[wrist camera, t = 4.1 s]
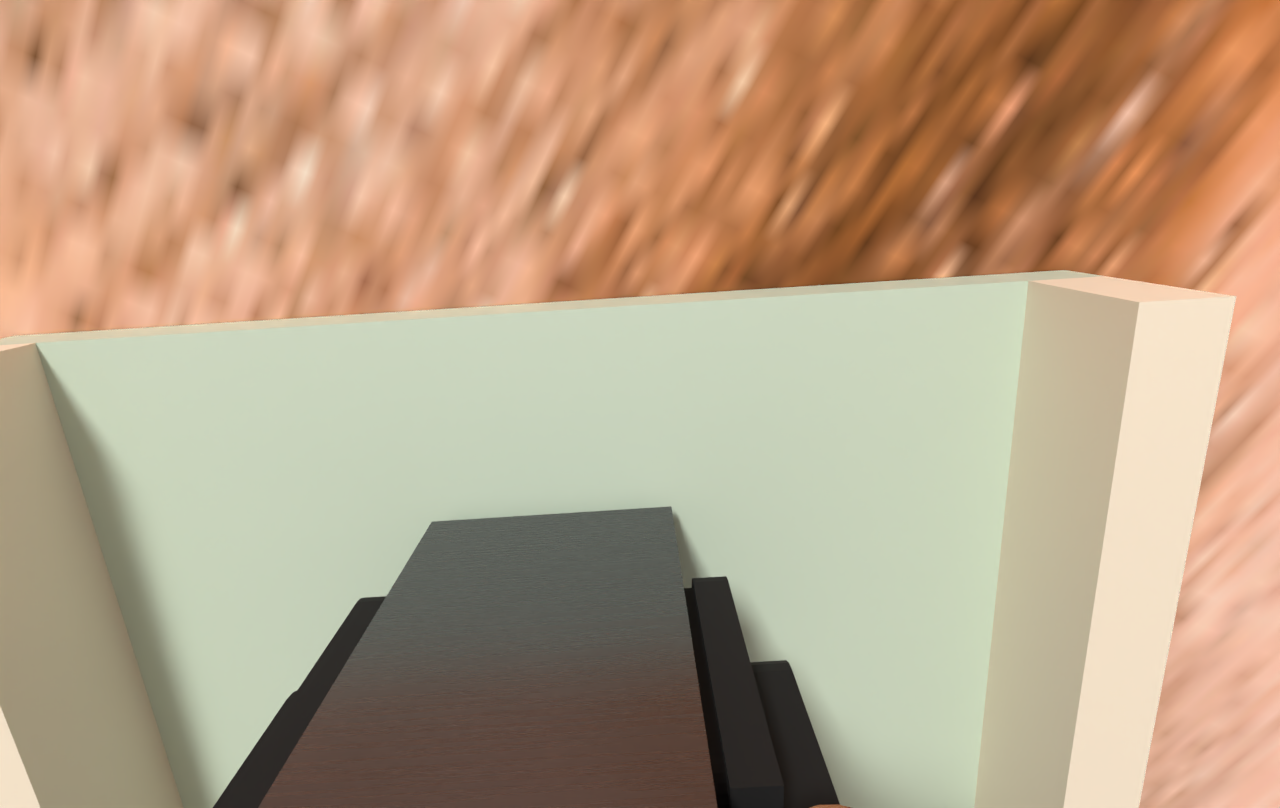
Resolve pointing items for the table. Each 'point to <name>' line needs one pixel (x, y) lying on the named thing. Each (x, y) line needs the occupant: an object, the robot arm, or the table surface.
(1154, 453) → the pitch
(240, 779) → the robot arm
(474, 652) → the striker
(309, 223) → the table surface
